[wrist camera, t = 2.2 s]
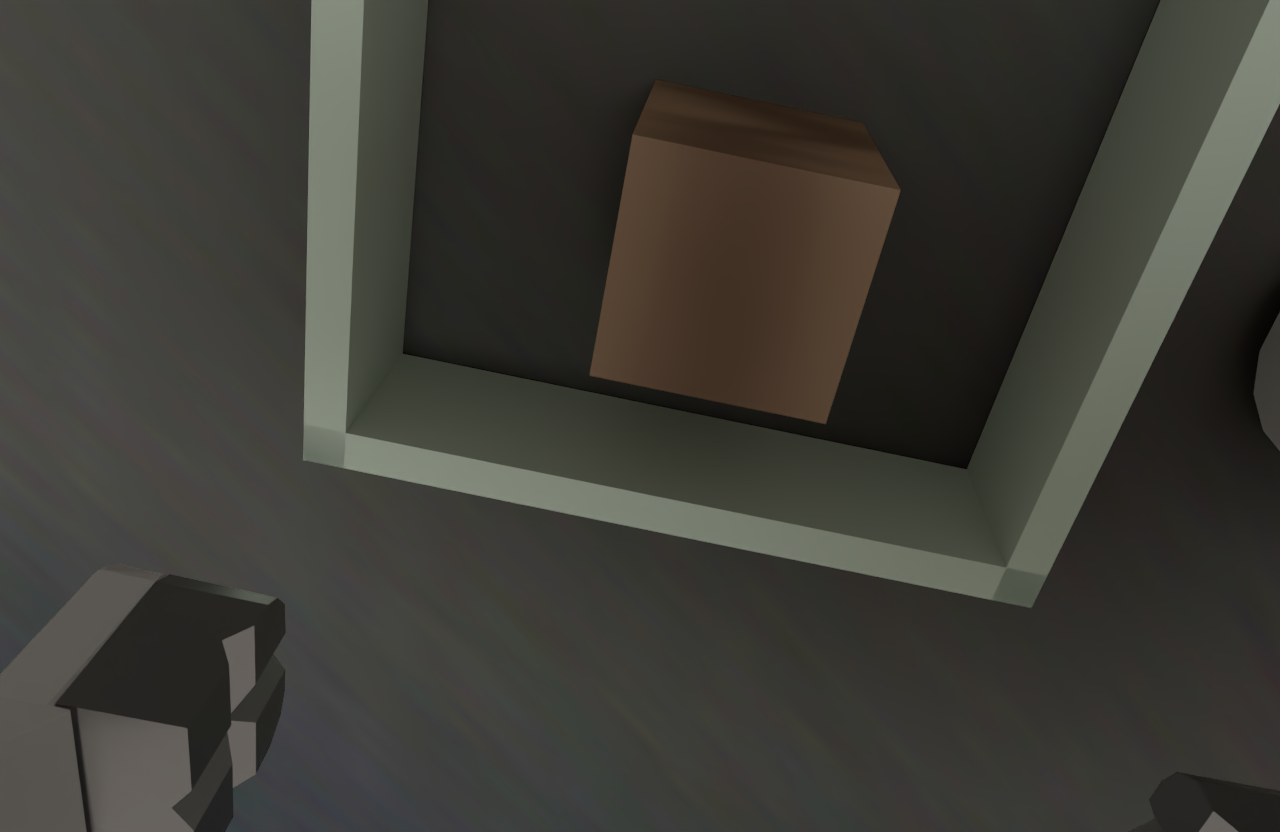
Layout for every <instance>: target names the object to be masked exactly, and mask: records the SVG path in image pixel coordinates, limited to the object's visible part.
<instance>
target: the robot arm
mask: <svg viewBox="0 0 1280 832" xmlns="http://www.w3.org/2000/svg"><path fill="white" fill-rule="evenodd" d="M285 633H286V630H285V604H284V603H283V602H282V601H281V600H279V599H278V598H276V597H271V596H267V595H262V594H258V593H253V592H248V591H244V590H239V589H235V588H230V587H226V586H221V585H216V584H212V583H207V582H203V581H198V580H194V579H189V578H184V577H180V576H175V575H171V574H170V575H164V574H159V573H155V572H151V571H146V570H142V569H137V568H133V567H129V566H124V565H120V564H115V563H113V564H111V565H109V566H106V567H104V568H102V569H99V570H98V571H96V572H95V573H94V574H93V575H92V576H91V577H90V578H89V579H88V580H87V582H86V583H85V584H84V585H83V586H82V587H81V588H80V589H79V590H78V591H77V592H76V593H75V594H74V595H73V597H72V598H71V599H70V600H69V601H68V602H67V603H66V604H65V605H64V606H63V607H62V608H61V609H60V610H59V611H58V613H57V614H56V615H55V616H54V617H53V618H52V619H51V620H50V621H49V622H48V623H47V624H46V625H45V626H44V627H43V629H42V630H41V631H40V632H39V633H38V634H37V635H36V636H35V637H34V638H33V639H32V640H31V641H30V642H29V643H28V645H27V646H26V647H25V648H24V649H23V650H22V651H21V652H20V653H19V654H18V655H17V656H16V657H15V658H14V660H13V661H12V662H11V663H10V664H9V665H8V666H7V667H6V668H5V669H4V670H3V671H2V672H1V673H0V832H225V831H226V829H227V827H228V825H229V823H230V822H231V820H232V818H233V788H234V787H235V786H237V785H239V784H240V783H242V782H244V781H245V780H247V779H248V778H250V777H252V776H253V775H255V774H256V773H257V771H258V769H259V767H260V765H261V763H262V761H263V759H264V757H265V755H266V753H267V751H268V749H269V747H270V744H271V741H272V738H273V736H274V733H275V730H276V727H277V724H278V721H279V718H280V715H281V709H282V703H283V697H284V691H285V669H284V668H283V666H282V665H281V664H280V662H279V661H278V660H277V658H276V657H275V656H274V654H273V653H274V652H275V650H276V648H277V646H278V645H279V643H280V641H281V640H282V638H283V636H284V634H285ZM1149 801H1150V804H1151V807H1152V810H1153V814H1154V817H1155V819H1153V820H1151V821H1149V822H1147V823H1145V824H1143V825H1141V826H1139V827H1137V828H1135V829H1133V830H1131V831H1129V832H1280V791H1277V790H1272V789H1267V788H1261V787H1256V786H1250V785H1245V784H1240V783H1234V782H1229V781H1223V780H1218V779H1213V778H1207V777H1202V776H1196V775H1191V774H1185V773H1180V772H1176V773H1174V774H1173V775H1171V776H1169V777H1167V778H1166V779H1164V780H1162V781H1161V783H1160V784H1159V786H1158V787H1157V789H1156V790H1155V791H1154V793H1153V794H1152V796H1151V797H1150V799H1149Z"/></svg>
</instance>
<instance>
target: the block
mask: <svg viewBox="0 0 1280 832" xmlns="http://www.w3.org/2000/svg"><path fill="white" fill-rule="evenodd" d="M900 191H901V190H900V188H899V186H898V184H897V183H896V181H895V179H894V177H893V176H892V174H891V172H890V170H889V168H888V167H887V165H886V163H885V161H884V159H883V158H882V156H881V154H880V152H879V151H878V149H877V147H876V145H875V143H874V142H873V140H872V138H871V136H870V135H869V133H868V131H867V129H866V127H865V126H864V124H863V123H862V122H857V121H852V120H847V119H843V118H838V117H833V116H828V115H824V114H819V113H814V112H809V111H804V110H800V109H795V108H790V107H785V106H781V105H776V104H771V103H766V102H762V101H757V100H752V99H747V98H742V97H738V96H733V95H728V94H723V93H719V92H714V91H709V90H704V89H700V88H695V87H690V86H685V85H680V84H676V83H671V82H666V81H661V80H657V79H656V80H655V83H654V85H653V87H652V90H651V92H650V94H649V97H648V99H647V101H646V104H645V106H644V109H643V111H642V113H641V116H640V118H639V120H638V123H637V125H636V127H635V130H634V132H633V135H632V141H631V146H630V152H629V157H628V163H627V168H626V174H625V180H624V185H623V191H622V196H621V202H620V208H619V213H618V219H617V224H616V230H615V236H614V241H613V247H612V252H611V258H610V263H609V269H608V275H607V280H606V286H605V291H604V297H603V303H602V308H601V314H600V319H599V325H598V331H597V336H596V342H595V347H594V353H593V358H592V364H591V370H590V375H589V376H594V377H599V378H604V379H609V380H613V381H618V382H623V383H628V384H633V385H638V386H643V387H647V388H652V389H657V390H662V391H667V392H672V393H677V394H682V395H686V396H691V397H696V398H701V399H706V400H711V401H716V402H721V403H725V404H730V405H735V406H740V407H745V408H750V409H755V410H759V411H764V412H769V413H774V414H779V415H784V416H789V417H794V418H798V419H803V420H808V421H813V422H818V423H823V424H826V422H827V419H828V416H829V412H830V409H831V406H832V403H833V400H834V397H835V394H836V391H837V388H838V384H839V381H840V378H841V375H842V372H843V369H844V366H845V363H846V359H847V356H848V353H849V350H850V347H851V344H852V341H853V338H854V335H855V331H856V328H857V325H858V322H859V319H860V316H861V313H862V310H863V306H864V303H865V300H866V297H867V294H868V291H869V288H870V285H871V282H872V278H873V275H874V272H875V269H876V266H877V263H878V260H879V257H880V253H881V250H882V247H883V244H884V241H885V238H886V235H887V232H888V229H889V225H890V222H891V219H892V216H893V213H894V210H895V207H896V204H897V200H898V197H899V194H900Z"/></svg>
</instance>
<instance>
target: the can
mask: <svg viewBox="0 0 1280 832" xmlns="http://www.w3.org/2000/svg"><path fill="white" fill-rule="evenodd" d="M1253 394H1254V398H1255V402H1256V406H1257V409H1258V413H1259V417H1260V421H1261V425H1262V429H1263V431H1264V432H1265V434H1266V435H1267V436H1268V437H1269V439H1270V440H1271V441H1272V442H1273V443H1274V445H1275V446H1276V447H1277V448H1278V450H1279V451H1280V312H1279V314H1278V316H1277V318H1276V320H1275V322H1274V324H1273V326H1272V328H1271V330H1270V332H1269V334H1268V336H1267V338H1266V339H1265V341H1264V343H1263V345H1262V347H1261V349H1260V351H1259V358H1258V365H1257V372H1256V379H1255V386H1254V393H1253Z"/></svg>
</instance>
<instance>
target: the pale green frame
mask: <svg viewBox="0 0 1280 832" xmlns="http://www.w3.org/2000/svg"><path fill="white" fill-rule="evenodd" d="M427 13H428V0H312V7H311V62H310V116H309V171H308V226H307V280H306V335H305V389H304V444H303V460H306V461H311V462H316V463H321V464H326V465H331V466H336V467H340V468H345V469H350V470H355V471H360V472H365V473H370V474H375V475H380V476H385V477H390V478H394V479H399V480H404V481H409V482H414V483H419V484H424V485H429V486H434V487H439V488H444V489H449V490H453V491H458V492H463V493H468V494H473V495H478V496H483V497H488V498H493V499H498V500H503V501H507V502H512V503H517V504H522V505H527V506H532V507H537V508H542V509H547V510H552V511H557V512H562V513H566V514H571V515H576V516H581V517H586V518H591V519H596V520H601V521H606V522H611V523H616V524H621V525H625V526H630V527H635V528H640V529H645V530H650V531H655V532H660V533H665V534H670V535H675V536H679V537H684V538H689V539H694V540H699V541H704V542H709V543H714V544H719V545H724V546H729V547H734V548H738V549H743V550H748V551H753V552H758V553H763V554H768V555H773V556H778V557H783V558H788V559H793V560H797V561H802V562H807V563H812V564H817V565H822V566H827V567H832V568H837V569H842V570H847V571H851V572H856V573H861V574H866V575H871V576H876V577H881V578H886V579H891V580H896V581H901V582H906V583H910V584H915V585H920V586H925V587H930V588H935V589H940V590H945V591H950V592H955V593H960V594H964V595H969V596H974V597H979V598H984V599H989V600H994V601H999V602H1004V603H1009V604H1014V605H1019V606H1023V607H1028V608H1032V606H1033V604H1034V602H1035V600H1036V598H1037V596H1038V594H1039V592H1040V590H1041V588H1042V586H1043V584H1044V582H1045V580H1046V578H1047V575H1048V573H1049V571H1050V569H1051V567H1052V565H1053V563H1054V561H1055V559H1056V557H1057V555H1058V553H1059V551H1060V549H1061V547H1062V545H1063V543H1064V541H1065V539H1066V537H1067V535H1068V533H1069V531H1070V529H1071V527H1072V525H1073V523H1074V521H1075V519H1076V517H1077V515H1078V513H1079V510H1080V508H1081V506H1082V504H1083V502H1084V500H1085V498H1086V496H1087V494H1088V492H1089V490H1090V488H1091V486H1092V484H1093V482H1094V480H1095V478H1096V476H1097V474H1098V472H1099V470H1100V468H1101V466H1102V464H1103V462H1104V460H1105V458H1106V456H1107V454H1108V452H1109V450H1110V448H1111V445H1112V443H1113V441H1114V439H1115V437H1116V435H1117V433H1118V431H1119V429H1120V427H1121V425H1122V423H1123V421H1124V419H1125V417H1126V415H1127V413H1128V411H1129V409H1130V407H1131V405H1132V403H1133V401H1134V399H1135V397H1136V395H1137V393H1138V391H1139V389H1140V387H1141V385H1142V383H1143V380H1144V378H1145V376H1146V374H1147V372H1148V370H1149V368H1150V366H1151V364H1152V362H1153V360H1154V358H1155V356H1156V354H1157V352H1158V350H1159V348H1160V346H1161V344H1162V342H1163V340H1164V338H1165V336H1166V334H1167V332H1168V330H1169V328H1170V326H1171V324H1172V322H1173V320H1174V318H1175V315H1176V313H1177V311H1178V309H1179V307H1180V305H1181V303H1182V301H1183V299H1184V297H1185V295H1186V293H1187V291H1188V289H1189V287H1190V285H1191V283H1192V281H1193V279H1194V277H1195V275H1196V273H1197V271H1198V269H1199V267H1200V265H1201V263H1202V261H1203V259H1204V257H1205V255H1206V253H1207V250H1208V248H1209V246H1210V244H1211V242H1212V240H1213V238H1214V236H1215V234H1216V232H1217V230H1218V228H1219V226H1220V224H1221V222H1222V220H1223V218H1224V216H1225V214H1226V212H1227V210H1228V208H1229V206H1230V204H1231V202H1232V200H1233V198H1234V196H1235V194H1236V192H1237V190H1238V188H1239V186H1240V183H1241V181H1242V179H1243V177H1244V175H1245V173H1246V171H1247V169H1248V167H1249V165H1250V163H1251V161H1252V159H1253V157H1254V155H1255V153H1256V151H1257V149H1258V147H1259V145H1260V143H1261V141H1262V139H1263V137H1264V135H1265V133H1266V131H1267V129H1268V127H1269V125H1270V123H1271V121H1272V118H1273V116H1274V114H1275V112H1276V110H1277V108H1278V106H1279V104H1280V0H1160V3H1159V5H1158V7H1157V10H1156V12H1155V15H1154V17H1153V20H1152V22H1151V24H1150V27H1149V29H1148V32H1147V34H1146V37H1145V39H1144V41H1143V44H1142V46H1141V49H1140V51H1139V53H1138V56H1137V58H1136V61H1135V63H1134V66H1133V68H1132V70H1131V73H1130V75H1129V78H1128V80H1127V83H1126V85H1125V87H1124V90H1123V92H1122V95H1121V97H1120V99H1119V102H1118V104H1117V107H1116V109H1115V112H1114V114H1113V116H1112V119H1111V121H1110V124H1109V126H1108V128H1107V131H1106V133H1105V136H1104V138H1103V141H1102V143H1101V145H1100V148H1099V150H1098V153H1097V155H1096V158H1095V160H1094V162H1093V165H1092V167H1091V170H1090V172H1089V174H1088V177H1087V179H1086V182H1085V184H1084V187H1083V189H1082V191H1081V194H1080V196H1079V199H1078V201H1077V204H1076V206H1075V208H1074V211H1073V213H1072V216H1071V218H1070V220H1069V223H1068V225H1067V228H1066V230H1065V233H1064V235H1063V237H1062V240H1061V242H1060V245H1059V247H1058V250H1057V252H1056V254H1055V257H1054V259H1053V262H1052V264H1051V266H1050V269H1049V271H1048V274H1047V276H1046V279H1045V281H1044V283H1043V286H1042V288H1041V291H1040V293H1039V296H1038V298H1037V300H1036V303H1035V305H1034V308H1033V310H1032V312H1031V315H1030V317H1029V320H1028V322H1027V325H1026V327H1025V329H1024V332H1023V334H1022V337H1021V339H1020V341H1019V344H1018V346H1017V349H1016V351H1015V354H1014V356H1013V358H1012V361H1011V363H1010V366H1009V368H1008V371H1007V373H1006V375H1005V378H1004V380H1003V383H1002V385H1001V387H1000V390H999V392H998V395H997V397H996V400H995V402H994V404H993V407H992V409H991V412H990V414H989V417H988V419H987V421H986V424H985V426H984V429H983V431H982V433H981V436H980V438H979V441H978V443H977V446H976V448H975V450H974V453H973V455H972V458H971V460H970V463H969V465H968V467H967V469H963V468H958V467H953V466H948V465H943V464H938V463H933V462H929V461H924V460H919V459H914V458H909V457H904V456H899V455H894V454H890V453H885V452H880V451H875V450H870V449H865V448H860V447H855V446H851V445H846V444H841V443H836V442H831V441H826V440H821V439H816V438H812V437H807V436H802V435H797V434H792V433H787V432H782V431H777V430H773V429H768V428H763V427H758V426H753V425H748V424H743V423H738V422H734V421H729V420H724V419H719V418H714V417H709V416H704V415H699V414H695V413H690V412H685V411H680V410H675V409H670V408H665V407H660V406H656V405H651V404H646V403H641V402H636V401H631V400H626V399H621V398H617V397H612V396H607V395H602V394H597V393H592V392H587V391H582V390H578V389H573V388H568V387H563V386H558V385H553V384H548V383H543V382H539V381H534V380H529V379H524V378H519V377H514V376H509V375H504V374H500V373H495V372H490V371H485V370H480V369H475V368H470V367H465V366H461V365H456V364H451V363H446V362H441V361H436V360H431V359H426V358H422V357H417V356H412V355H407V354H403V343H404V330H405V316H406V302H407V288H408V275H409V261H410V247H411V233H412V220H413V206H414V192H415V178H416V164H417V151H418V137H419V123H420V109H421V96H422V82H423V68H424V54H425V41H426V27H427Z"/></svg>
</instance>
